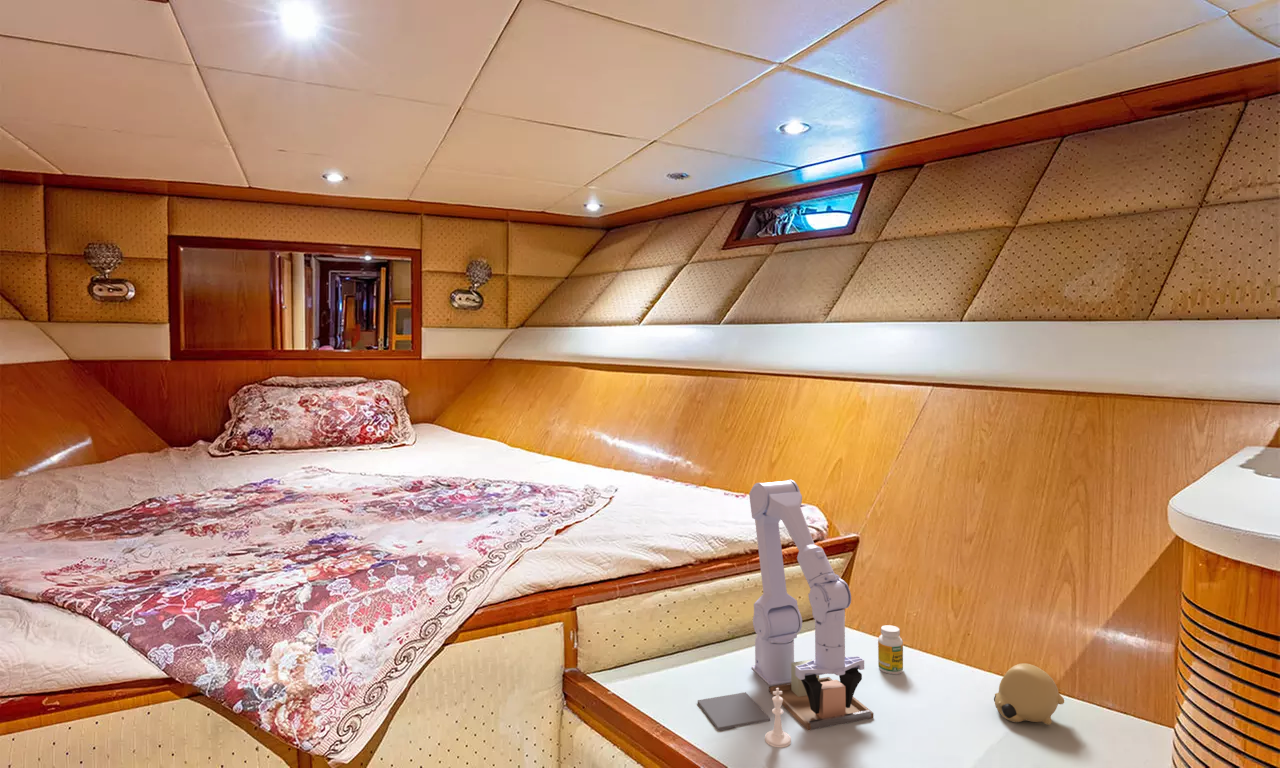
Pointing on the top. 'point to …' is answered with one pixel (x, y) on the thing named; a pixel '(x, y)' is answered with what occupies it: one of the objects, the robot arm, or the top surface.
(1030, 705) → the tan animal figurine
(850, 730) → the top surface
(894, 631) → the supplement bottle
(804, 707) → the wooden serving tray
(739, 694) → the mat
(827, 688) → the salmon pink box
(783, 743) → the chess piece
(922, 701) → the top surface
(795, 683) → the khaki rectangular block
